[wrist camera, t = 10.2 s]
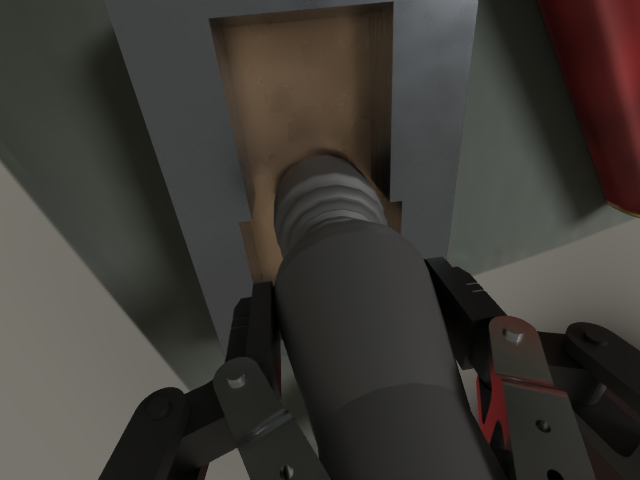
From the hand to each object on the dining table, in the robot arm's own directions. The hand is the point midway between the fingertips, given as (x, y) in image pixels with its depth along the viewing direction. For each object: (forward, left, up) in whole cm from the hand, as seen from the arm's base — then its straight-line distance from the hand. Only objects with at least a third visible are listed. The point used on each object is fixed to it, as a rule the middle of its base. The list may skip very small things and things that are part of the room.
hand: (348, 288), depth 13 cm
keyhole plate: (0, -1, -11) cm, 11 cm away
